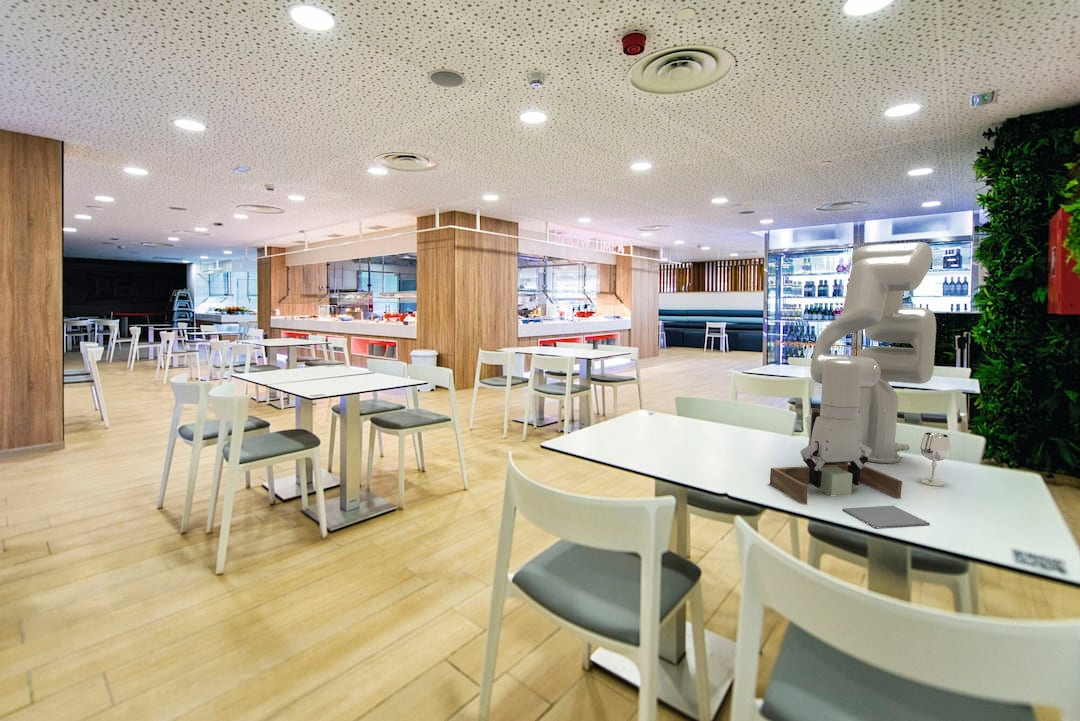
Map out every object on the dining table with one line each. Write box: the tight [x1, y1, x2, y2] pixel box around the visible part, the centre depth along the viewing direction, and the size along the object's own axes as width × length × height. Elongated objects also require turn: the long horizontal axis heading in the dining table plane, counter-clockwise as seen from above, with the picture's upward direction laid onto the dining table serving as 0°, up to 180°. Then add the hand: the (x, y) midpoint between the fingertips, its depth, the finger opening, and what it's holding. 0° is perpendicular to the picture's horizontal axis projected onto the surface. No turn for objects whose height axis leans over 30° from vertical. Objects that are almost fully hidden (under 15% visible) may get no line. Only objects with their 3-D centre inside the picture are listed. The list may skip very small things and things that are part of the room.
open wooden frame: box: [769, 463, 903, 504], centre depth 121 cm, size 24×12×4 cm, turn 98°
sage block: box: [817, 467, 853, 497], centre depth 121 cm, size 5×5×5 cm
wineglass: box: [920, 431, 952, 487], centre depth 126 cm, size 6×6×12 cm
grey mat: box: [841, 505, 931, 529], centre depth 106 cm, size 12×9×1 cm
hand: (833, 484), depth 121 cm, fingers open, 9 cm apart
